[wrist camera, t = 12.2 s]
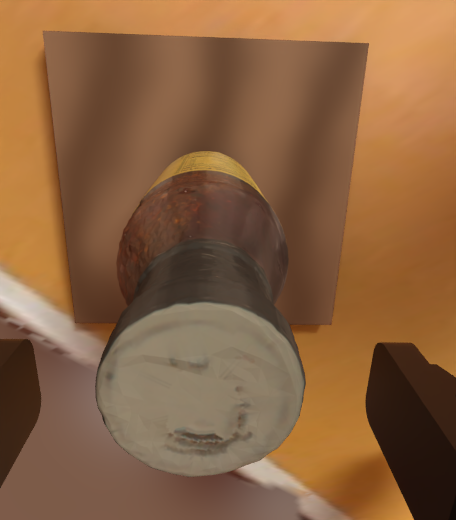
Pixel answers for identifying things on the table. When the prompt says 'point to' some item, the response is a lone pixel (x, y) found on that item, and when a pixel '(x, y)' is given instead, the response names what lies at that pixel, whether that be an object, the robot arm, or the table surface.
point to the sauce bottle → (201, 325)
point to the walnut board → (204, 145)
